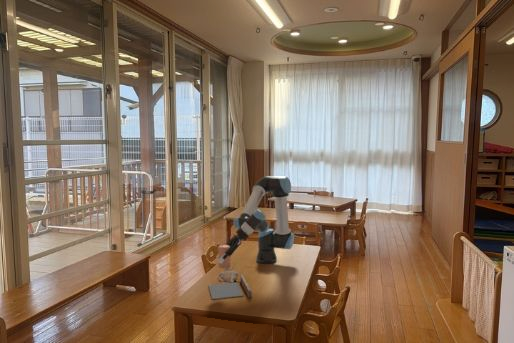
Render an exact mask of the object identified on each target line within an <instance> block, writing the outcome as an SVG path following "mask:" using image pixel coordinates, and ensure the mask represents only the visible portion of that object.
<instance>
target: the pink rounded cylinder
mask: <svg viewBox="0 0 514 343" xmlns="http://www.w3.org/2000/svg"><path fill="white" fill-rule="evenodd" d="M229 248H230V246H229V245H226V244H221V245H219V246H217V251H218V252H217V255H218V258H217V263H218V269H222V270H223V269H224V270H225V268H229V267H231V256H230V255H229V256H228V257H227V258H226V259H225V260H224V261H223V263H222V264H220V263H219V262H218V260H219V259H220V258H221V256H222V255H223V254H224V253H225V252H227V250H228V249H229Z"/></svg>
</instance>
